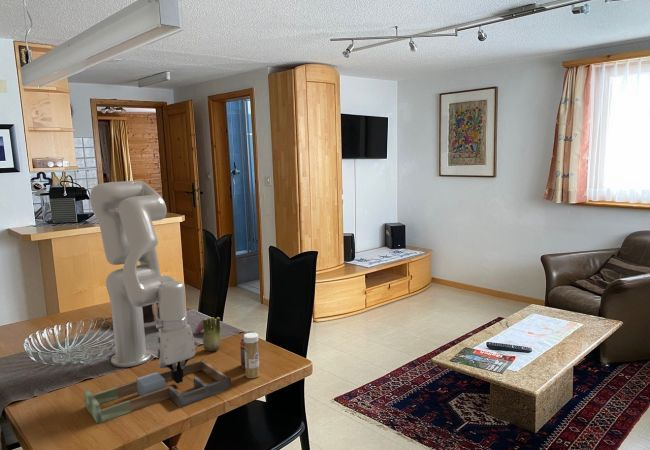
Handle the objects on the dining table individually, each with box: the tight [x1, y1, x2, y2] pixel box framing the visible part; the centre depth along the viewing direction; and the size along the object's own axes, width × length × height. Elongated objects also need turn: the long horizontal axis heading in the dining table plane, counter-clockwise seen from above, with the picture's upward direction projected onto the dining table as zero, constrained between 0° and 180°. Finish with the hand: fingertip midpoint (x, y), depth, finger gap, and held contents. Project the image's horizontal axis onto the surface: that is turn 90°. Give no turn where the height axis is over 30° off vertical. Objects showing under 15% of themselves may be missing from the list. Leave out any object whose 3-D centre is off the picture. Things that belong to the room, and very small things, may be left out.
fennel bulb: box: [202, 316, 222, 352], centre depth 171 cm, size 6×5×12 cm
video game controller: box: [194, 317, 222, 335], centre depth 186 cm, size 10×5×7 cm, turn 59°
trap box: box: [83, 359, 232, 424], centre depth 140 cm, size 18×36×5 cm, turn 131°
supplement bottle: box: [239, 330, 260, 370], centre depth 158 cm, size 6×6×11 cm
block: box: [136, 371, 166, 397], centre depth 141 cm, size 6×6×5 cm
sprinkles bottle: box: [242, 332, 261, 379], centre depth 151 cm, size 5×5×14 cm
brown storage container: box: [142, 304, 156, 324], centre depth 204 cm, size 16×11×18 cm
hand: (177, 381), depth 147 cm, fingers closed
